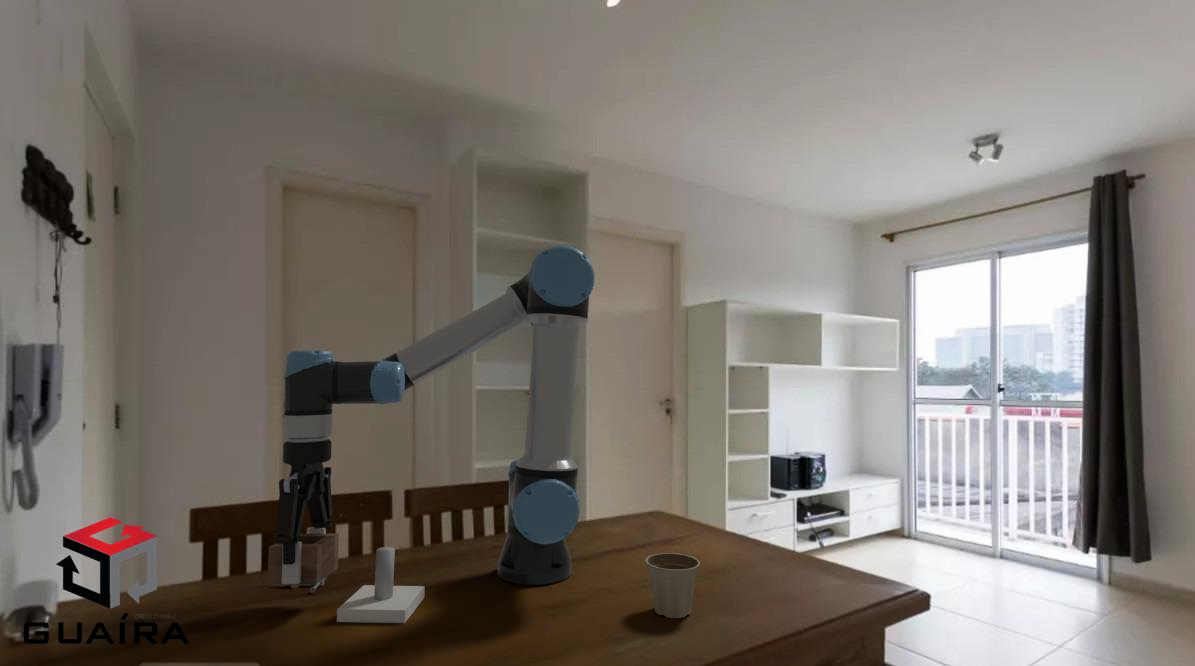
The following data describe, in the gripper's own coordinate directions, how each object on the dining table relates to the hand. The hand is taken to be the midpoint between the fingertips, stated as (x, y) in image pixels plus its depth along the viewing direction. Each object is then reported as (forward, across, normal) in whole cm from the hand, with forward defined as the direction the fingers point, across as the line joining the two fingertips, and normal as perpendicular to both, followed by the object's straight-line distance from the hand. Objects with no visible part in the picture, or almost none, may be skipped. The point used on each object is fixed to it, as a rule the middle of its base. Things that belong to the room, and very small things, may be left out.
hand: (304, 573), depth 100 cm
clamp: (+6, -14, -7) cm, 17 cm away
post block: (+6, -1, +13) cm, 15 cm away
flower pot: (+8, -2, +63) cm, 63 cm away
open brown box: (0, 0, 0) cm, 0 cm away
